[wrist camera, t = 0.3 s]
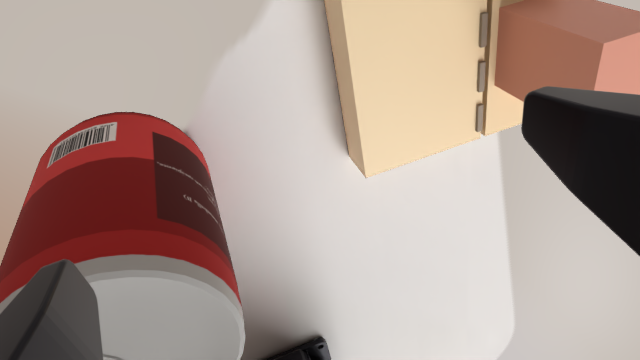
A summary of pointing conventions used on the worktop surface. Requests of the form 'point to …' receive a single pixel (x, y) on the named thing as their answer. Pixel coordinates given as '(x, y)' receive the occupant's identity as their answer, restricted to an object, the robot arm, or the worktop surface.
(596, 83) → the stub
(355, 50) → the hinged cream panel
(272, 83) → the worktop surface
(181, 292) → the canned food
